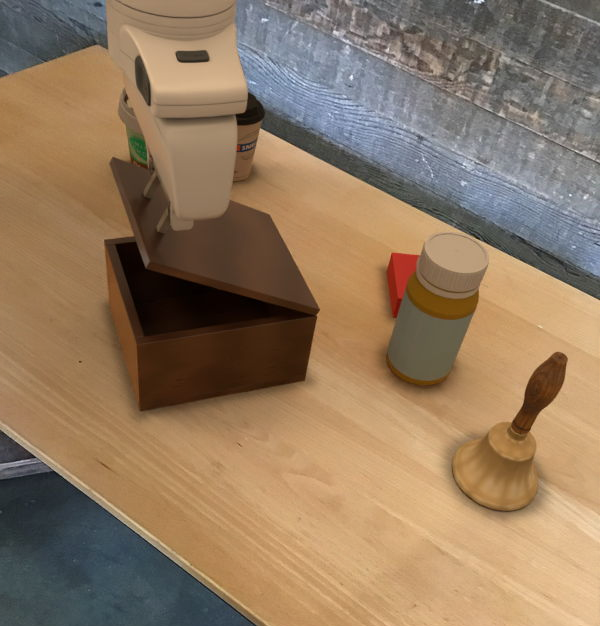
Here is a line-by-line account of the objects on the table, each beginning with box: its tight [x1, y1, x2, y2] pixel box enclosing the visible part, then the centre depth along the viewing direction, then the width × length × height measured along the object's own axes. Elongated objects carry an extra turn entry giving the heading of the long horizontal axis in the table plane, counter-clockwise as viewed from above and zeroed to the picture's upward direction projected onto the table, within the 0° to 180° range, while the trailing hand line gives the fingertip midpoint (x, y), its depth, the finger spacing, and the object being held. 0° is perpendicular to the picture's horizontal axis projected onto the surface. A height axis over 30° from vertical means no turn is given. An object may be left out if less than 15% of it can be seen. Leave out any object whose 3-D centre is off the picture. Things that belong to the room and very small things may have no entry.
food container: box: [117, 86, 149, 170], centre depth 92 cm, size 12×6×10 cm, turn 71°
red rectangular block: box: [386, 251, 421, 318], centre depth 86 cm, size 8×7×6 cm
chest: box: [103, 235, 318, 412], centre depth 75 cm, size 17×15×9 cm
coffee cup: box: [233, 91, 266, 182], centre depth 96 cm, size 7×7×10 cm
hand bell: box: [451, 351, 569, 512], centre depth 66 cm, size 8×8×16 cm
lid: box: [108, 156, 321, 316], centre depth 68 cm, size 18×15×5 cm
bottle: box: [385, 230, 490, 386], centre depth 75 cm, size 7×7×15 cm
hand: (169, 199), depth 64 cm, fingers closed on lid, 6 cm apart
